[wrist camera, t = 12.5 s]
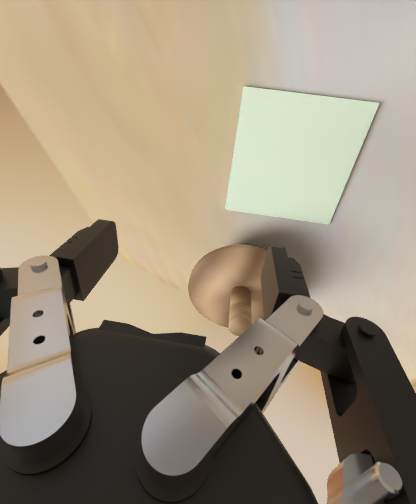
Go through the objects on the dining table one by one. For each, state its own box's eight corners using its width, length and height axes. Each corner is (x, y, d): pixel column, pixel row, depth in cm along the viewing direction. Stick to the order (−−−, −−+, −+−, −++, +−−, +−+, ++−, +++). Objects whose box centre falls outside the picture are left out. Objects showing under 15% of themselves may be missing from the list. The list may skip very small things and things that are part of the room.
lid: (310, 254, 36) (325, 292, 29) (279, 331, 45) (285, 373, 38) (193, 236, 36) (182, 269, 30) (186, 316, 46) (176, 355, 39)
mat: (377, 102, 32) (379, 102, 31) (328, 222, 41) (329, 224, 40) (243, 86, 32) (243, 86, 32) (225, 208, 42) (225, 209, 41)
